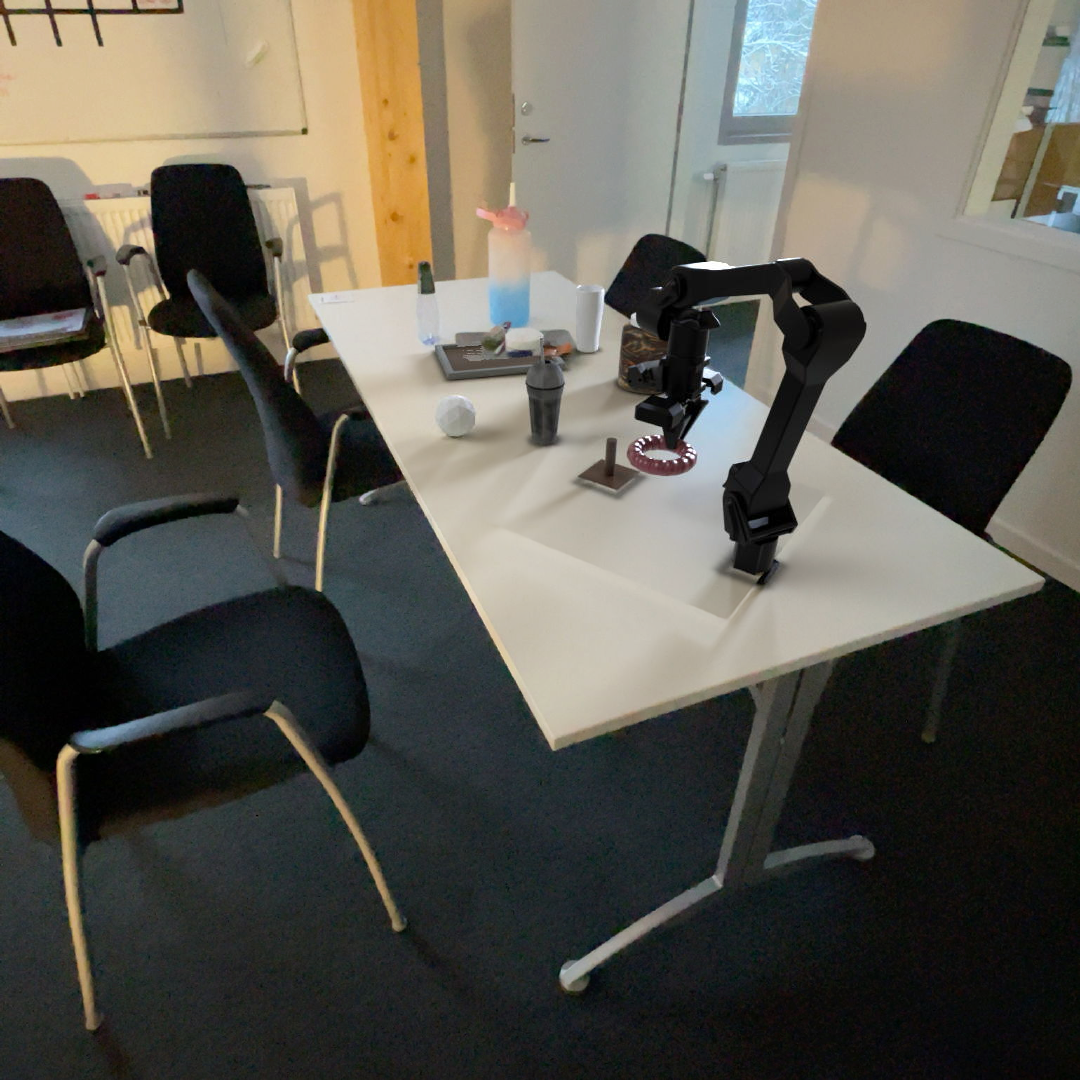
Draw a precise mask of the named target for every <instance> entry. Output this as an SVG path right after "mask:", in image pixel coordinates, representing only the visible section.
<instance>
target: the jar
mask: <svg viewBox="0 0 1080 1080" xmlns="http://www.w3.org/2000/svg"><path fill="white" fill-rule="evenodd" d="M667 348H668V341H663V340H660V339H659V338H657V337H655V336H653V335H652V334H650V333H648V332H646V331H645V330H643V329H641V328H640V327H639V326H638V324H637V321H636V312H634V313H632V314H631V315H630V321H627V322H625V323H624V324H623V326H622V328H621V336H620V346H619V358H618V359H619V360H618V371H617V372H618V373H617V374H618V375H617V384H618V386H619V387H621V388H622V389H624V390H626V391H628V392H631V393H635V394H641V395H657V394H660V393H659V392H656V391H654V389H655V387H648V388H639V390H633V389H632V388H631V387H629V386H628V383H626V382H625V379H626V377H627V374H626V372H628V368H629V367H630V366H632V365H635V366H636V365H638V364H640V363H643V362H649V361H656V360H660V359H661V358H663V357H664V356H666V355H667ZM662 393H664V392H662ZM662 393H661V394H662Z"/></svg>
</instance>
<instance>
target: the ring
mask: <svg viewBox="0 0 1080 1080" xmlns="http://www.w3.org/2000/svg"><path fill="white" fill-rule="evenodd" d="M650 451H665V452H668V453H672V454H675V455H677V456H679V457H677V458H675V459H667V460H666V459H656V458H653V457H650V456H647V455H646V454H644V453H647V452H650ZM626 458H627V460H628V461H629V464H630V465H631V467H633V468H634V469H636V470H637V471H640V472H641V473H645V474H648V475H651V476H659V477H673V476H675V477H676V476H679V475H683V474H686V473H688V472H690V471H691V470H692V469H693V468H694V467H695V466H696V464H697V461H698V452H697V451H696V449H695V448H694V447H693V445H692V444H691V443H689V442H687V441H685V439H684V440H682V439H679V441H678V443H677V444H676V446H675V448H674V449H673V450H670V449H667V447H666V443H665V438H664V434H652V435H651V434H649V435H645V436H641V437H639V438H636V439H635V440H633V441H632V442H631V443H630V444H629V445H628V447H627V451H626Z"/></svg>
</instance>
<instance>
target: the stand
mask: <svg viewBox="0 0 1080 1080" xmlns="http://www.w3.org/2000/svg"><path fill="white" fill-rule="evenodd" d="M605 441H606V442H605V443H606V444H605V456H604V459H603V458H601V459H599V460H598V461H597V462H595V463H594V464H592V465H591V466H590V467H588V468H587V469H585V470H584V471H583V472H582V473H580V474H579V475H577V478H581V479H584V480H586V481H589V482H593V483H595V484H598V485H601V486H604V487H607V488H609V489H612V490H616V491H619V490H620V489H621V488H623V487H624V486H625V485H626V484H628V483H630V481H632V480H633V479H634V478H635V477H636V476H638V475H639V474H640V473H641V471H640V470H638V469H635V468H630V467H628V466H624V465H621V464H618V463H616V461H617V451H618V450H617V447H618V439H617V438H615V437H607V438H606V440H605Z"/></svg>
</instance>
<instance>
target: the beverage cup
mask: <svg viewBox="0 0 1080 1080" xmlns="http://www.w3.org/2000/svg"><path fill="white" fill-rule="evenodd" d="M540 347H541V360H540V361H538V362H536V363H534V364H533V365H532V366H531V367H530V369H529V371H528V373H526V377H525V382H524V383H525V385H526V388H525V389H526V393H527V396H528V409H529V410H528V411H529V420H530V421H529V422H530V433H531V439H532V440H531V441H532V442H533V443H534V444H536V445H540V446H550V445H552V444H554V443H555V442H556V440H557V435H558V428H559V420H560V412H561V403H562V395H563V393H564V388H565V385H566V381H565V376H564V375H565V374H564V371H563V370H561V368H560V367H559V366H558V365H557V364H556V363H555V362H553V361H551V360H544V348H543V338H540Z"/></svg>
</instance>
